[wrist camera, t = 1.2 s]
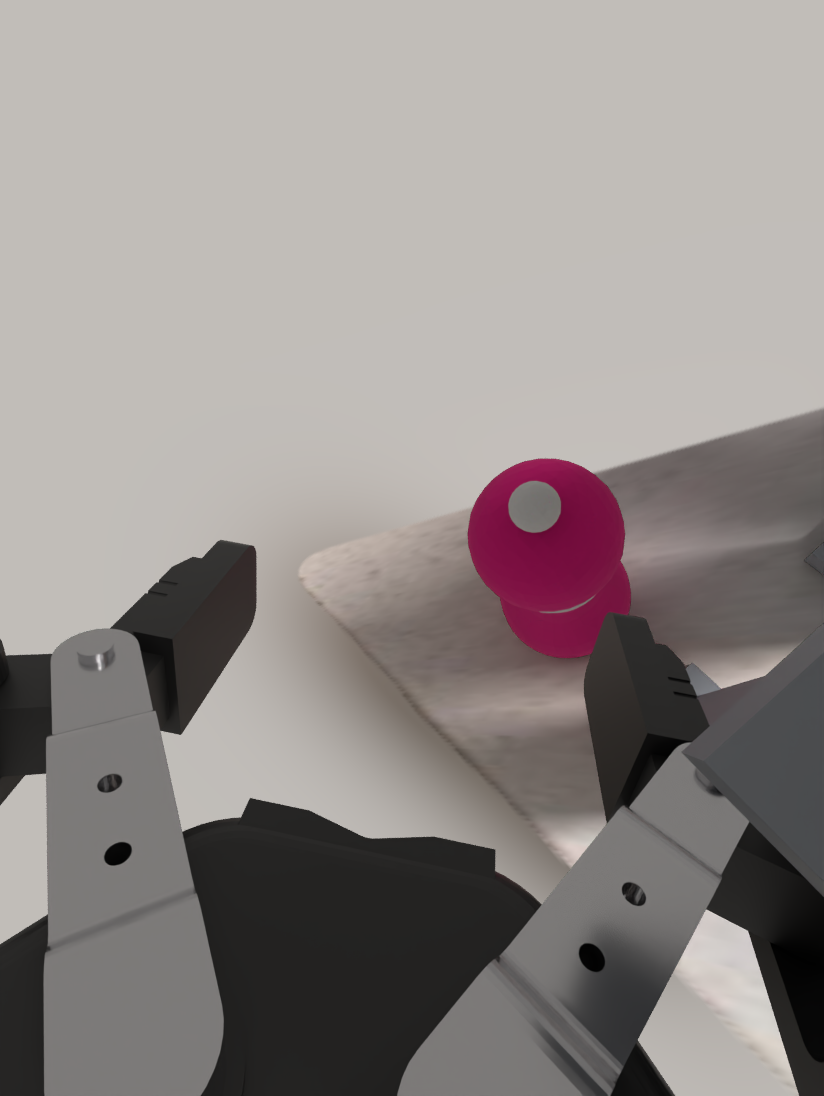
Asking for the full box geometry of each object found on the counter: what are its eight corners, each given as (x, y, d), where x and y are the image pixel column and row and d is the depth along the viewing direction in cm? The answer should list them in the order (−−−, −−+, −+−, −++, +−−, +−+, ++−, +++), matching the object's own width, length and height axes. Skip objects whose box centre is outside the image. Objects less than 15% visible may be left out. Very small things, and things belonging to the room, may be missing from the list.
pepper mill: (489, 606, 39) (386, 504, 21) (568, 531, 39) (533, 361, 21) (568, 689, 36) (529, 654, 18) (654, 608, 36) (703, 489, 18)
